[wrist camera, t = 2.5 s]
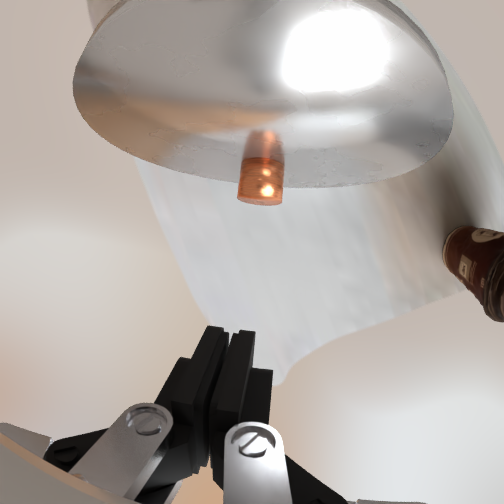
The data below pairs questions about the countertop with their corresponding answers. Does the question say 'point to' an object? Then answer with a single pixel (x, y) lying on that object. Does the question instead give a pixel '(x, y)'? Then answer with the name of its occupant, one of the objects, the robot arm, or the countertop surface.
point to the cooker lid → (266, 91)
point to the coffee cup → (479, 265)
